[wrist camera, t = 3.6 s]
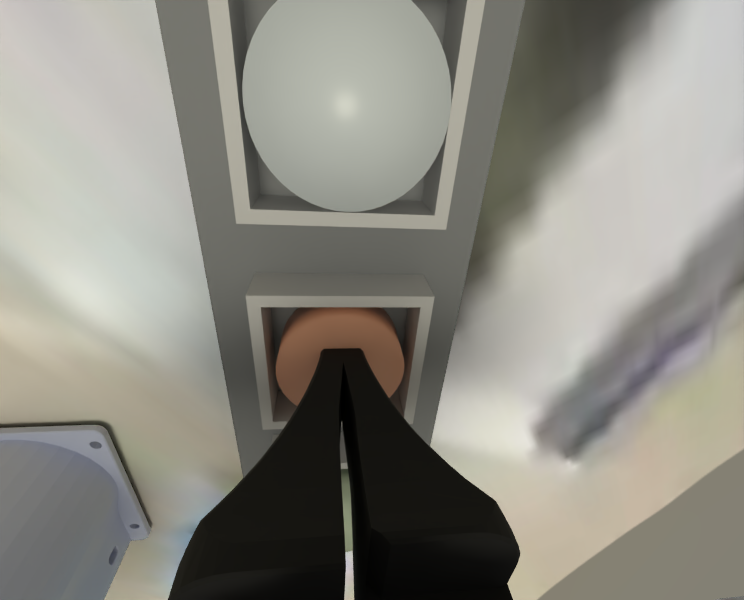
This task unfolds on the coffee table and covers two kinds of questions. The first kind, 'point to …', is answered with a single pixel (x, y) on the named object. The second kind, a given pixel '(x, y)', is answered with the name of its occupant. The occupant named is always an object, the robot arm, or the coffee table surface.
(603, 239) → the coffee table surface
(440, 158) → the button panel
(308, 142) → the blue-grey button
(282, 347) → the terracotta button
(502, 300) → the coffee table surface
